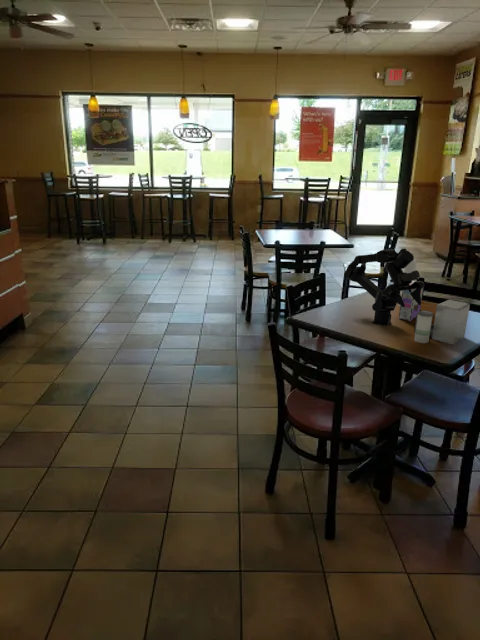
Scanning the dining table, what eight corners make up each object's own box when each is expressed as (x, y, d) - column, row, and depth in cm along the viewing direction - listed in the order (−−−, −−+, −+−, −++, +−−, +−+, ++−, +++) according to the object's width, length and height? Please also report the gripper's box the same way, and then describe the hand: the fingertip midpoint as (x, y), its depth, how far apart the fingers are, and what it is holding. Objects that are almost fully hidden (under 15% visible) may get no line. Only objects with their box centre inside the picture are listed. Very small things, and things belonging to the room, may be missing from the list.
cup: (411, 340, 199) (415, 312, 195) (417, 337, 203) (421, 309, 199) (425, 344, 195) (429, 316, 191) (431, 340, 199) (435, 313, 195)
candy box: (410, 321, 223) (415, 287, 218) (398, 319, 227) (402, 285, 221) (419, 314, 234) (424, 281, 228) (407, 312, 237) (412, 279, 232)
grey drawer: (411, 331, 209) (414, 314, 206) (422, 326, 215) (424, 309, 213) (433, 337, 202) (436, 319, 200) (443, 332, 209) (446, 314, 206)
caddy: (431, 338, 202) (437, 304, 197) (444, 332, 210) (449, 299, 205) (452, 344, 196) (458, 309, 191) (464, 337, 204) (470, 303, 199)
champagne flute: (402, 302, 253) (408, 257, 246) (414, 305, 248) (420, 259, 241) (395, 304, 249) (401, 259, 242) (407, 307, 244) (413, 261, 237)
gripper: (390, 265, 197) (407, 298, 191) (424, 262, 205) (441, 293, 199) (376, 280, 206) (390, 311, 200) (408, 276, 214) (423, 306, 208)
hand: (412, 305), depth 202 cm, fingers open, 9 cm apart
